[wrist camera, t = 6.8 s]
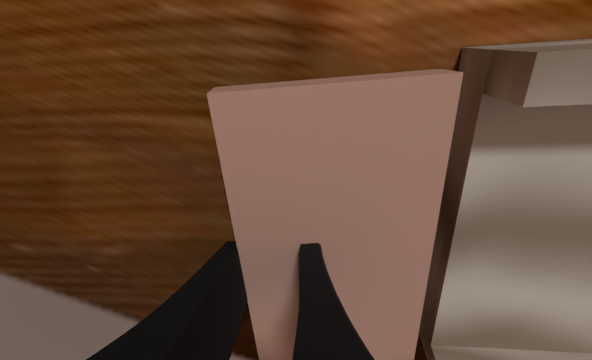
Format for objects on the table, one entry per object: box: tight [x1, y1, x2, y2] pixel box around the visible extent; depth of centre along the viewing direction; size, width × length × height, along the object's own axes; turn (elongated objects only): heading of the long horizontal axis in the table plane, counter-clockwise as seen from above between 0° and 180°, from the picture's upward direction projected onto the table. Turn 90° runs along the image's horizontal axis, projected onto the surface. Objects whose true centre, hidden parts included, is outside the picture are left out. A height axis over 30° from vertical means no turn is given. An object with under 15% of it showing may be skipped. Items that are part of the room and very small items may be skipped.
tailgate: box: [207, 69, 463, 360], centre depth 11 cm, size 13×2×7 cm
